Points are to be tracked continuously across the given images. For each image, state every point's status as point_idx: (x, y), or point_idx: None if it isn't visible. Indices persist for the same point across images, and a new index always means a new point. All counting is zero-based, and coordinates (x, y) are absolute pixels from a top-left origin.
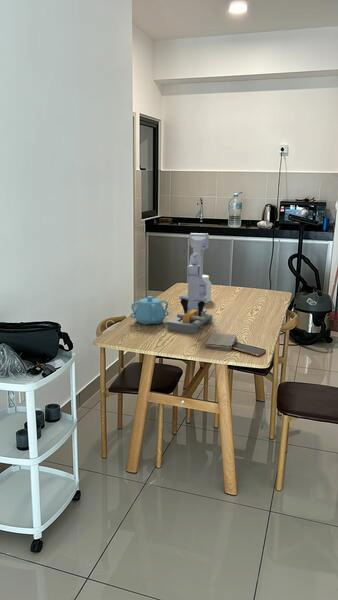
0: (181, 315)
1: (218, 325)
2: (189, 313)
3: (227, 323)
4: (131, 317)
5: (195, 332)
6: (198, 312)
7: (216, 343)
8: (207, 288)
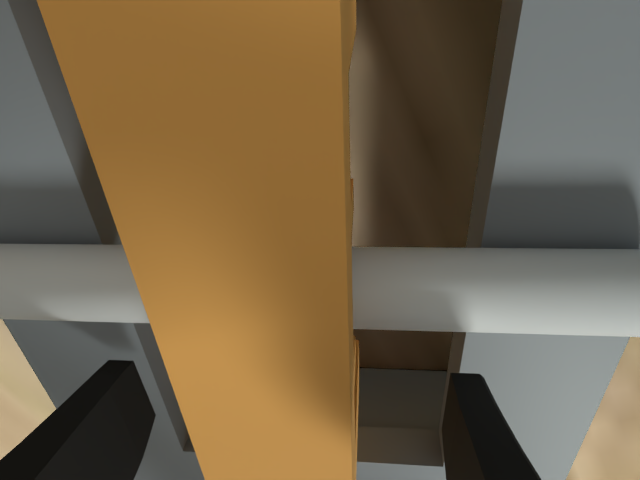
0: (526, 263)
1: (17, 346)
2: (218, 284)
3: (10, 423)
4: None
5: None
6: (72, 427)
7: None
8: None
